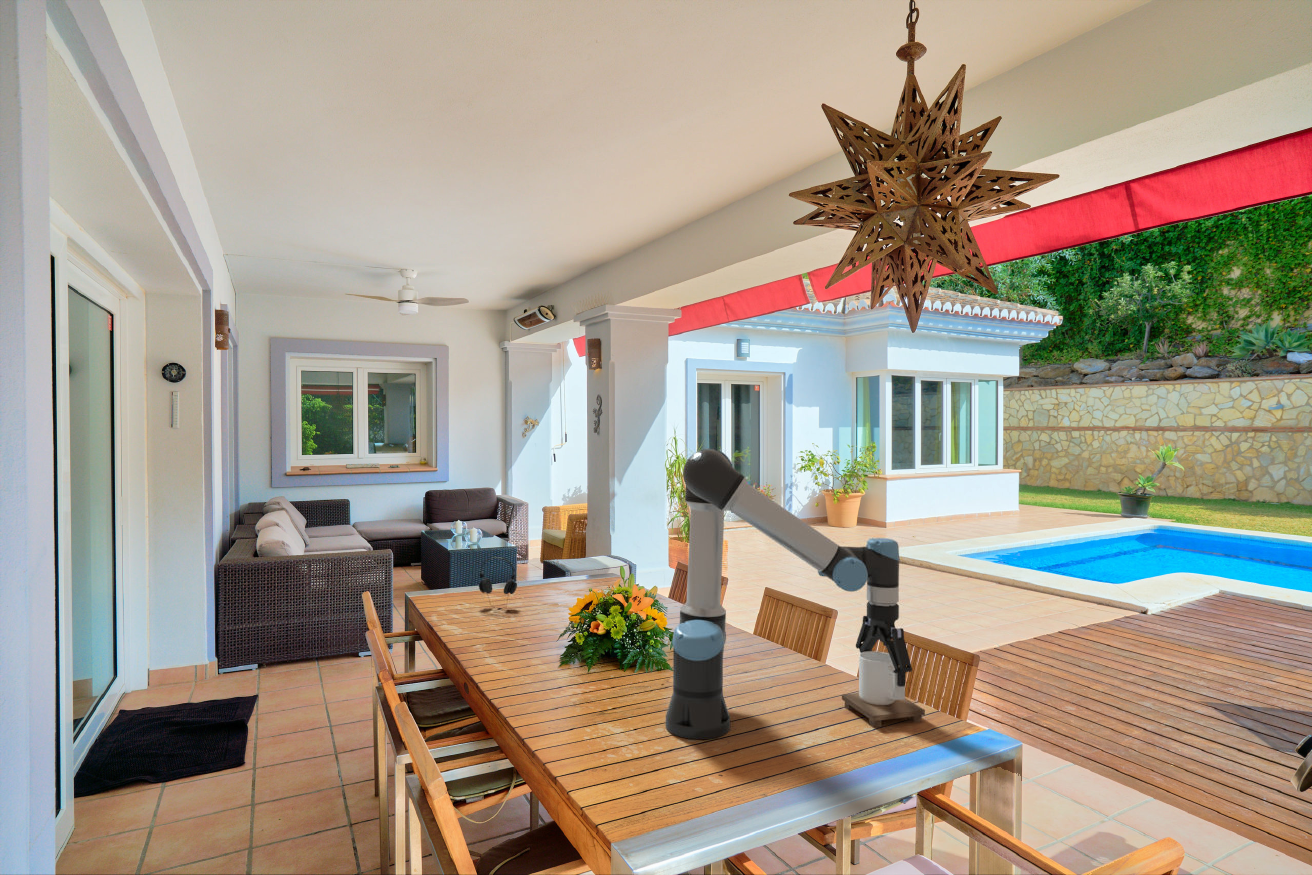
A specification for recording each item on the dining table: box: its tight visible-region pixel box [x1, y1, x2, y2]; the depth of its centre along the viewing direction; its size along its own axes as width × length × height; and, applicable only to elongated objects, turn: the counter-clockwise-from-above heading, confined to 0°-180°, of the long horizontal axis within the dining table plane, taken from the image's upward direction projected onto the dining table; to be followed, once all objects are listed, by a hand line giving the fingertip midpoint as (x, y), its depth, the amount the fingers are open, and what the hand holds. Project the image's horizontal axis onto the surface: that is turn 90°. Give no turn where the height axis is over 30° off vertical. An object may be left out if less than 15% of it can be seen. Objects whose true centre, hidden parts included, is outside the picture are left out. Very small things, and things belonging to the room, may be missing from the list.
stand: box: [841, 692, 926, 729], centre depth 175 cm, size 14×14×3 cm
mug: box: [858, 650, 895, 705], centre depth 175 cm, size 9×12×11 cm
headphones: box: [478, 556, 518, 614], centre depth 277 cm, size 15×11×20 cm
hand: (882, 688), depth 175 cm, fingers open, 13 cm apart
